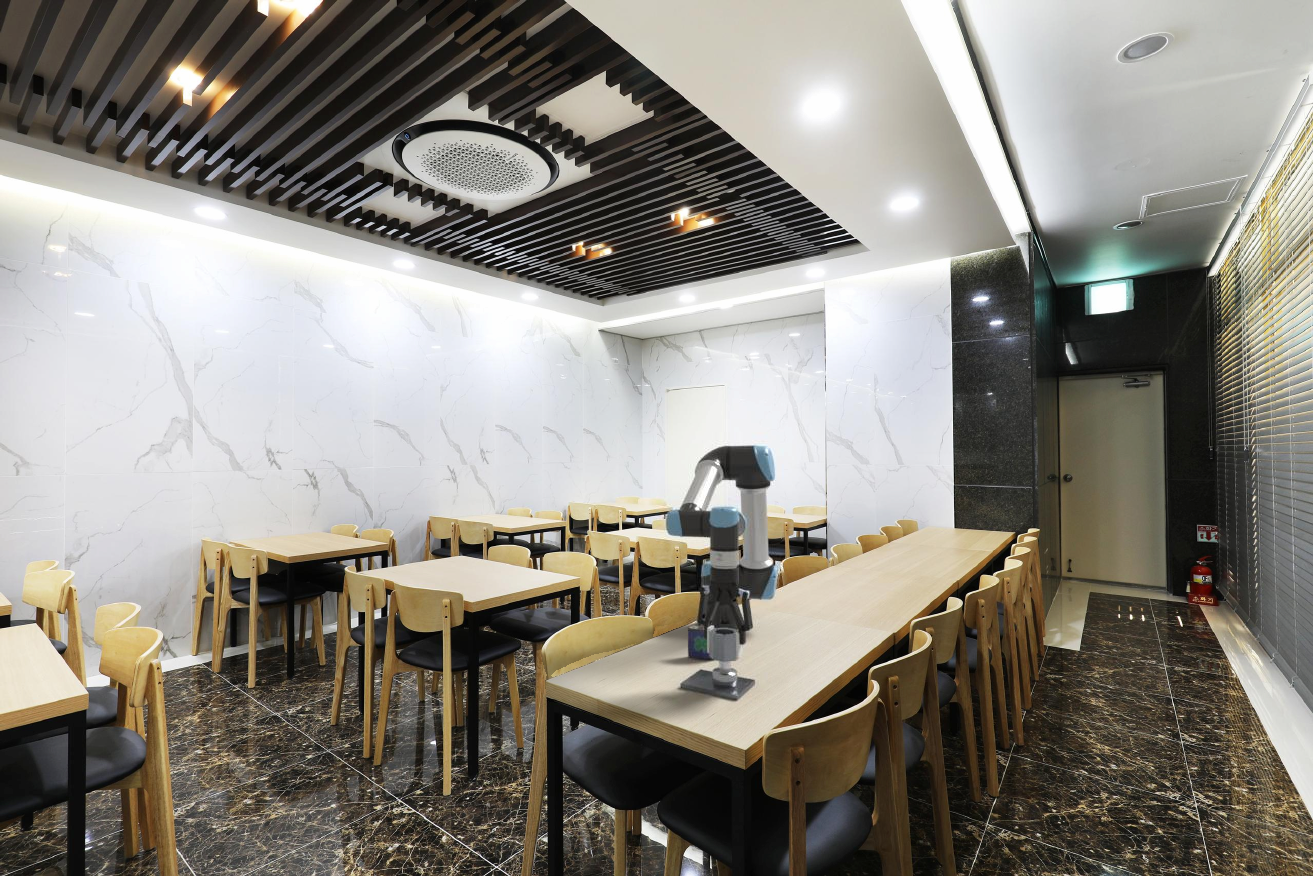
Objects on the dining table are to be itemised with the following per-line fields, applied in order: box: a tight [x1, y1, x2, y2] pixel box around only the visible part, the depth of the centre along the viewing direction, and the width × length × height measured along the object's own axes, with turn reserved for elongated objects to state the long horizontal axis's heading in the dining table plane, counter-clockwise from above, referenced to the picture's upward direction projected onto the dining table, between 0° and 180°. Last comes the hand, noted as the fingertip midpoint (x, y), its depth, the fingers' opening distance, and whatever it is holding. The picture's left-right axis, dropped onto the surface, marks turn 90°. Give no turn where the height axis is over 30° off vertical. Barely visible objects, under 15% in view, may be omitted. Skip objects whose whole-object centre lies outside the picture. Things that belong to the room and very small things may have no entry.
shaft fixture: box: [679, 661, 756, 701], centre depth 162 cm, size 12×16×12 cm
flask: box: [687, 624, 714, 661], centre depth 184 cm, size 9×3×11 cm, turn 78°
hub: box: [709, 628, 740, 662], centre depth 161 cm, size 7×7×6 cm
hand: (724, 653), depth 161 cm, fingers closed on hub, 7 cm apart
